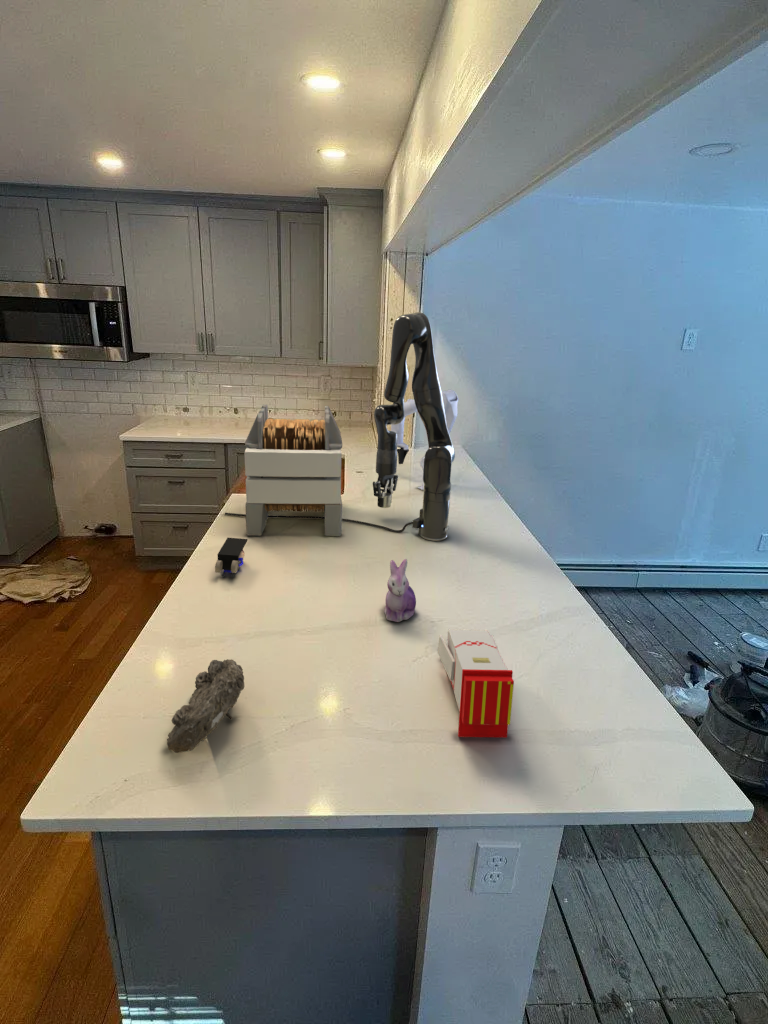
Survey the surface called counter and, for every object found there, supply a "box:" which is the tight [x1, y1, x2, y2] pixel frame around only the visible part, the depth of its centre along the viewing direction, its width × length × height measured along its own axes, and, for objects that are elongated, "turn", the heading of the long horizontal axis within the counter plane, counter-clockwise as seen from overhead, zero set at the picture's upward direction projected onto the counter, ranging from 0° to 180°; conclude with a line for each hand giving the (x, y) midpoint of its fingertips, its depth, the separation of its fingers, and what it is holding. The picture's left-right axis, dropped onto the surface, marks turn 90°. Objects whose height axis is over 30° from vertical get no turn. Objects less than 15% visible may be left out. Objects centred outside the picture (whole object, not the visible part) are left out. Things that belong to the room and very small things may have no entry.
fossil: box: [166, 658, 245, 754], centre depth 106 cm, size 22×10×15 cm
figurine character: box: [214, 537, 248, 578], centre depth 166 cm, size 7×8×15 cm
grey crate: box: [244, 404, 343, 537], centre depth 202 cm, size 34×33×41 cm
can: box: [380, 492, 392, 509], centre depth 209 cm, size 5×5×4 cm
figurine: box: [384, 558, 417, 623], centre depth 145 cm, size 9×10×15 cm
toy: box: [437, 628, 515, 738], centre depth 117 cm, size 12×13×30 cm
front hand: (384, 504), depth 210 cm, fingers closed on can, 4 cm apart
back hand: (395, 461), depth 259 cm, fingers open, 7 cm apart
